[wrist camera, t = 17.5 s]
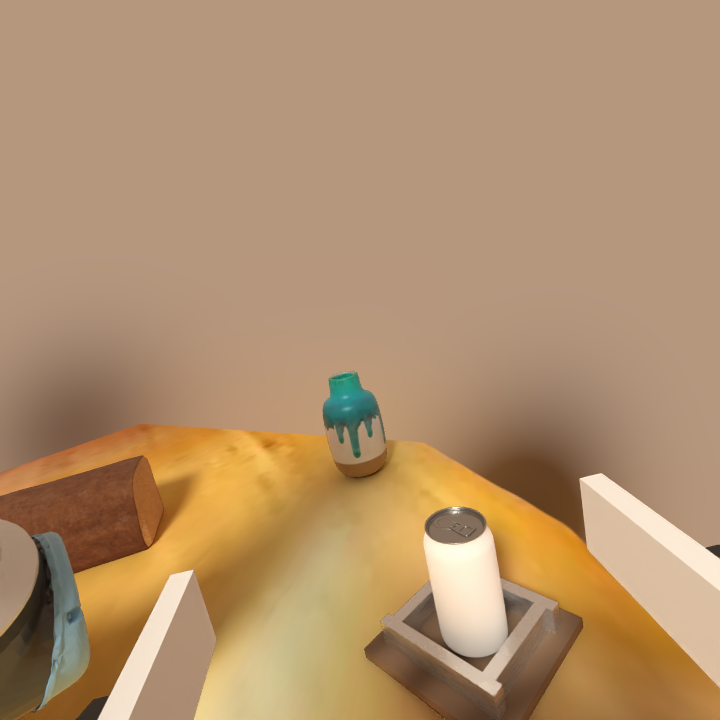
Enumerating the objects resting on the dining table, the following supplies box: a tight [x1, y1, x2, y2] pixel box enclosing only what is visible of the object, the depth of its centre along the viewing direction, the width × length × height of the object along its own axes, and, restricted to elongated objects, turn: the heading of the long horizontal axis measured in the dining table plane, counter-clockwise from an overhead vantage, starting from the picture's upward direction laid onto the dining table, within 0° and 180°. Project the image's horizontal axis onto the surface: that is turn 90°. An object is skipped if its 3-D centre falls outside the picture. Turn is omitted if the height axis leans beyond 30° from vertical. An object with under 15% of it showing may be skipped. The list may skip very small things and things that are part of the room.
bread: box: [0, 455, 164, 574], centre depth 73 cm, size 16×39×13 cm, turn 106°
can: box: [423, 507, 508, 658], centre depth 42 cm, size 6×6×12 cm
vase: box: [323, 371, 387, 477], centre depth 81 cm, size 11×11×19 cm
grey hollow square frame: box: [380, 578, 561, 720], centre depth 43 cm, size 13×11×2 cm
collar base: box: [364, 608, 583, 720], centre depth 43 cm, size 15×15×1 cm
